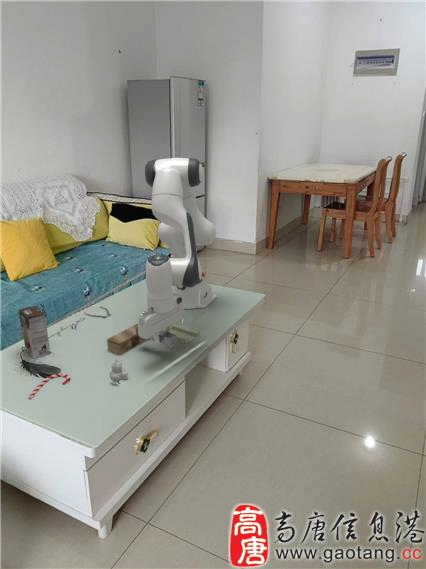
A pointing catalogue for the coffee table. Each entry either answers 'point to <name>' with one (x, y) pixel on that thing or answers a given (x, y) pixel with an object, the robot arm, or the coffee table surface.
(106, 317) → the pliers
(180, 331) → the cradle
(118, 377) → the grey lumpy blob
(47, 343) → the coffee box
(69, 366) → the coffee table surface
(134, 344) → the beam
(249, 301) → the coffee table surface
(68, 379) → the candy cane
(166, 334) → the shaft
